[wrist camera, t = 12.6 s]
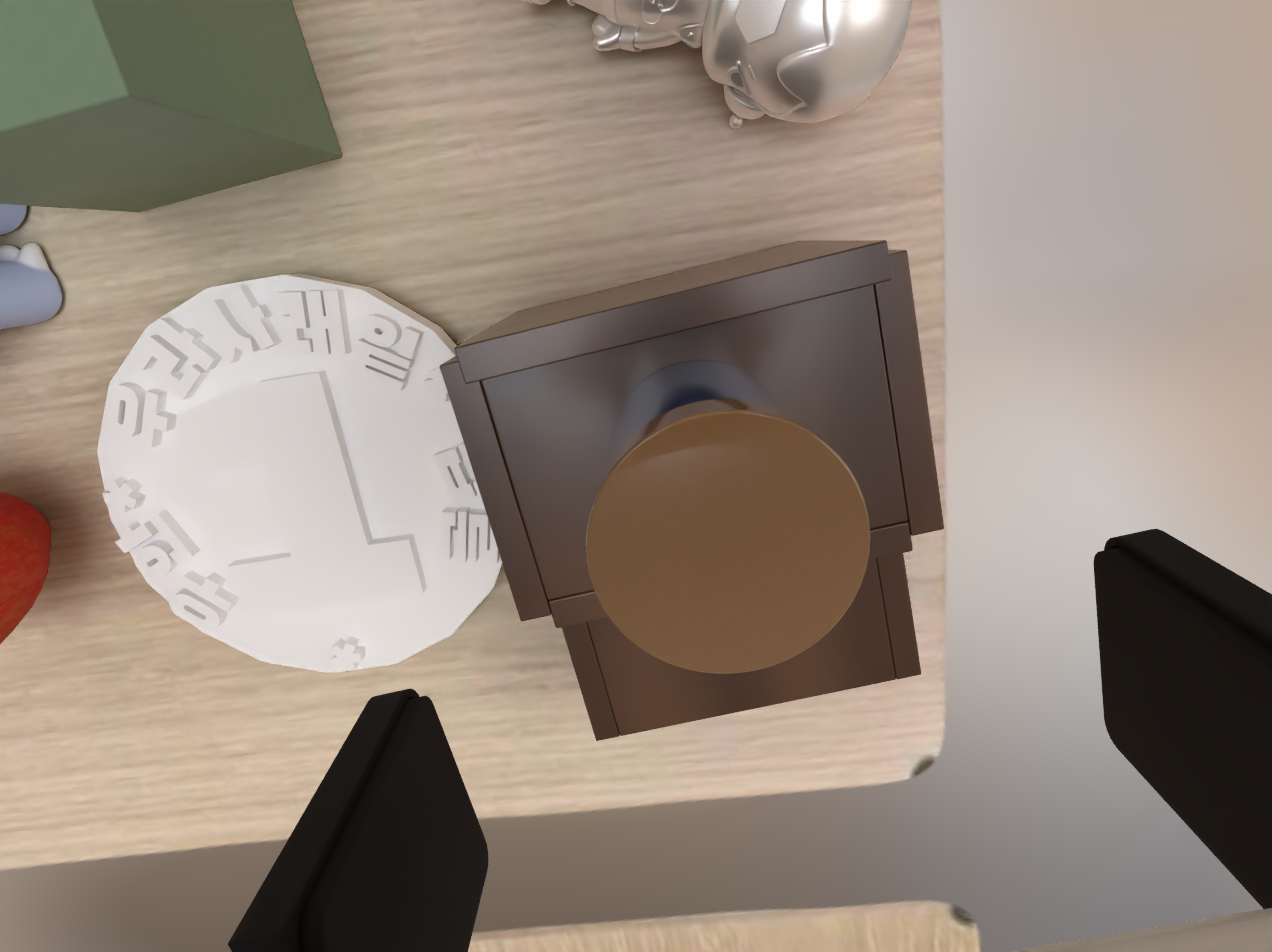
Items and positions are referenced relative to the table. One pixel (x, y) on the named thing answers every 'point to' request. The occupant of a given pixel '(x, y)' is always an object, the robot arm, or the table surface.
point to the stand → (153, 100)
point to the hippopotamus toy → (24, 278)
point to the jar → (722, 523)
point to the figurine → (768, 48)
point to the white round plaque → (298, 474)
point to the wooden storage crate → (793, 371)
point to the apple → (21, 559)
